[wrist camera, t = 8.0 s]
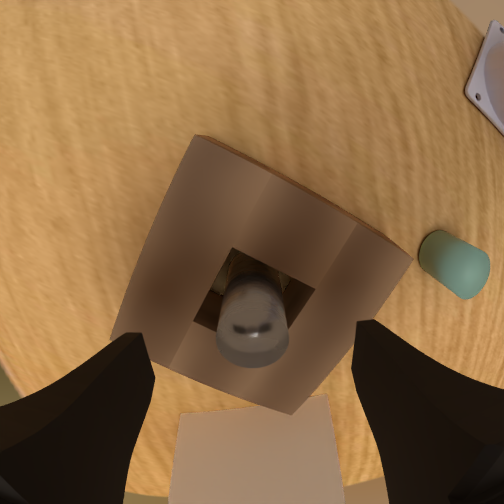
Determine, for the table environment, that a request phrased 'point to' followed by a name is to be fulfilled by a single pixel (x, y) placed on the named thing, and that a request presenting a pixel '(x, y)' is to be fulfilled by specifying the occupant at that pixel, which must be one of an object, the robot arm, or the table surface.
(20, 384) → the table surface
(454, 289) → the short pin
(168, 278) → the hole block
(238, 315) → the tall pin
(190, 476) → the milk
